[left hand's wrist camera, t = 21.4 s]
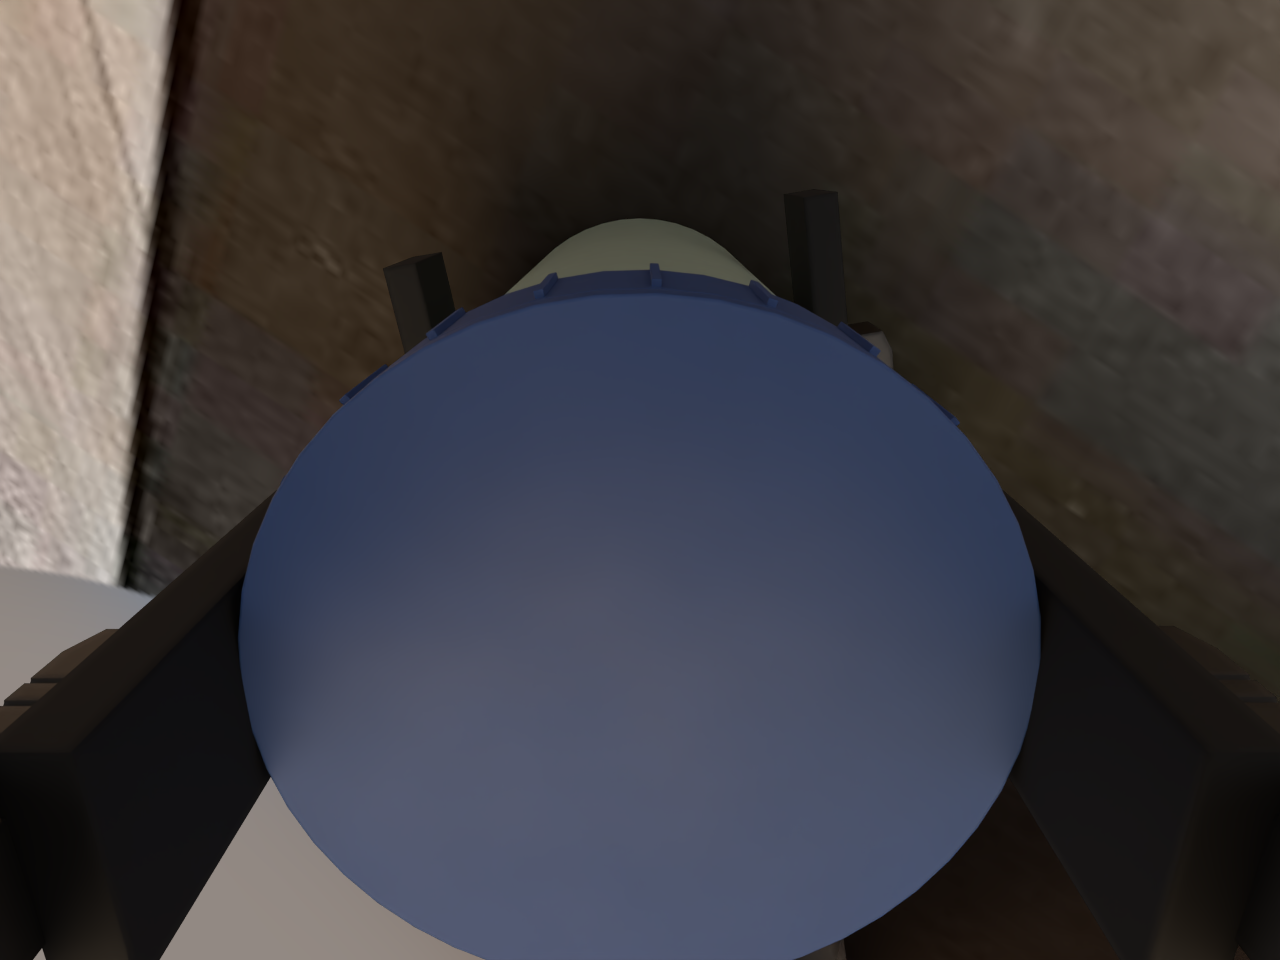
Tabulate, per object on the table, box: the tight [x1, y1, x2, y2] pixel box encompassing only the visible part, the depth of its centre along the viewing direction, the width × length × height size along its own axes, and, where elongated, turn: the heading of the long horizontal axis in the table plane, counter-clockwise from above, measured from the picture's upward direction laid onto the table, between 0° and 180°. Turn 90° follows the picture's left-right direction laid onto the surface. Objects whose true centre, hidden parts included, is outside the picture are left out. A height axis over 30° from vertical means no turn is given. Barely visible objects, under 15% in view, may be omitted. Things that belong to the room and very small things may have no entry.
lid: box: [238, 263, 1041, 960], centre depth 11 cm, size 9×9×2 cm
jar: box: [506, 218, 776, 296], centre depth 19 cm, size 9×9×18 cm
